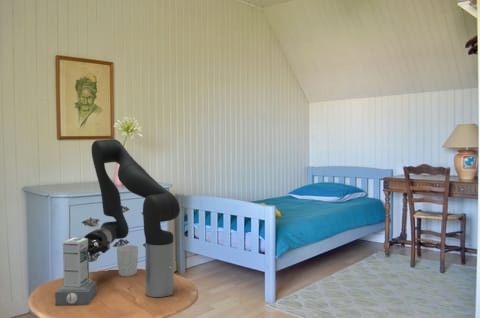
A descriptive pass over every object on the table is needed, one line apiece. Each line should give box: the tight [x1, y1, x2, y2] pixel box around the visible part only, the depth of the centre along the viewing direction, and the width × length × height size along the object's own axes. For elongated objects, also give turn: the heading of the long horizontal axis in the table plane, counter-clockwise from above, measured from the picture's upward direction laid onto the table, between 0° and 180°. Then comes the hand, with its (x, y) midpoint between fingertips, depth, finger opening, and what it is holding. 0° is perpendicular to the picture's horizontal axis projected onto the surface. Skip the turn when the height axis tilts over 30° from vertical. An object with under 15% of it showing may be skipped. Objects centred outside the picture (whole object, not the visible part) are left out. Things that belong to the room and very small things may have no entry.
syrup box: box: [62, 237, 90, 287], centre depth 141 cm, size 6×6×14 cm
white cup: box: [116, 244, 139, 277], centre depth 167 cm, size 8×8×10 cm
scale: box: [54, 280, 97, 306], centre depth 141 cm, size 10×11×4 cm
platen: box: [59, 279, 93, 291], centre depth 142 cm, size 8×8×1 cm
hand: (77, 252), depth 142 cm, fingers open, 8 cm apart
